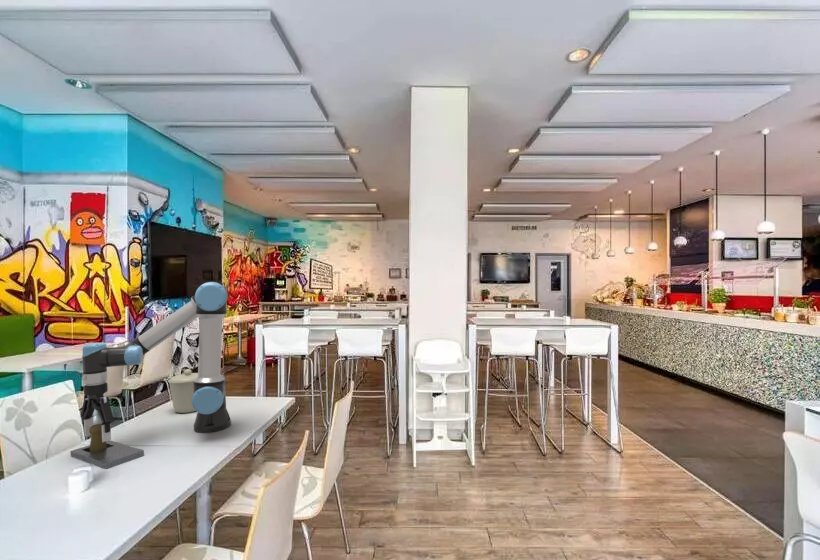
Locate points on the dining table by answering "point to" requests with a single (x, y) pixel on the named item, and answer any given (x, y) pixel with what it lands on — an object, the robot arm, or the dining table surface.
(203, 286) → the robot arm
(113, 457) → the jig
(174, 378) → the canister
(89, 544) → the dining table surface
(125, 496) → the dining table surface
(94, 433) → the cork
